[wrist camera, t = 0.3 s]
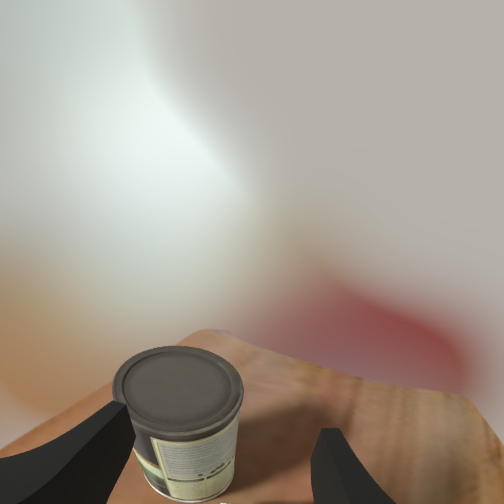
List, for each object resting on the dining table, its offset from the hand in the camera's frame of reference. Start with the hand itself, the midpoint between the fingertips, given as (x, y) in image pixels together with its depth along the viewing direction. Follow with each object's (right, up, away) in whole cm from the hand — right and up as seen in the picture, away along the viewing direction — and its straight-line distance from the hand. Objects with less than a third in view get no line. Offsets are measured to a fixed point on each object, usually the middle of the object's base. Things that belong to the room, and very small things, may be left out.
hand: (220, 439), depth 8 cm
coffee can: (-6, -17, +15) cm, 23 cm away
